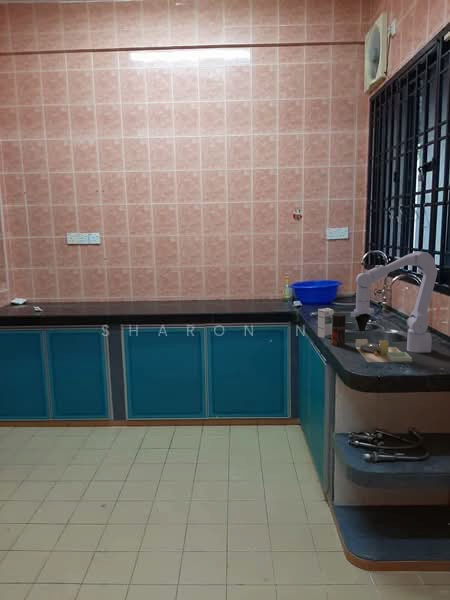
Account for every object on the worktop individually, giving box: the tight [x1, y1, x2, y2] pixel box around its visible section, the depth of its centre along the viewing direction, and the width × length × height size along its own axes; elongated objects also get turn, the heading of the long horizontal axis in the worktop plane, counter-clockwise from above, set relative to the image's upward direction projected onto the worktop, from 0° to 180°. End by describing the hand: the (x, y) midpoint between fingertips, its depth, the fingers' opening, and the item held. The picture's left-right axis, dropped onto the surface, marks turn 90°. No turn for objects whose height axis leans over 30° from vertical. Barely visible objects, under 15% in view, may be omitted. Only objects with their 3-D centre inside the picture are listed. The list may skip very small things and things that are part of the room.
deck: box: [355, 346, 402, 363], centre depth 188 cm, size 18×22×1 cm
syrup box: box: [317, 307, 335, 339], centre depth 220 cm, size 6×6×14 cm
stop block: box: [378, 339, 390, 356], centre depth 187 cm, size 3×3×6 cm
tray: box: [386, 351, 413, 363], centre depth 181 cm, size 8×8×2 cm
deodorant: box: [331, 313, 347, 347], centre depth 203 cm, size 6×6×15 cm
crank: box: [354, 338, 379, 355], centre depth 193 cm, size 13×12×4 cm
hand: (361, 330), depth 195 cm, fingers closed
